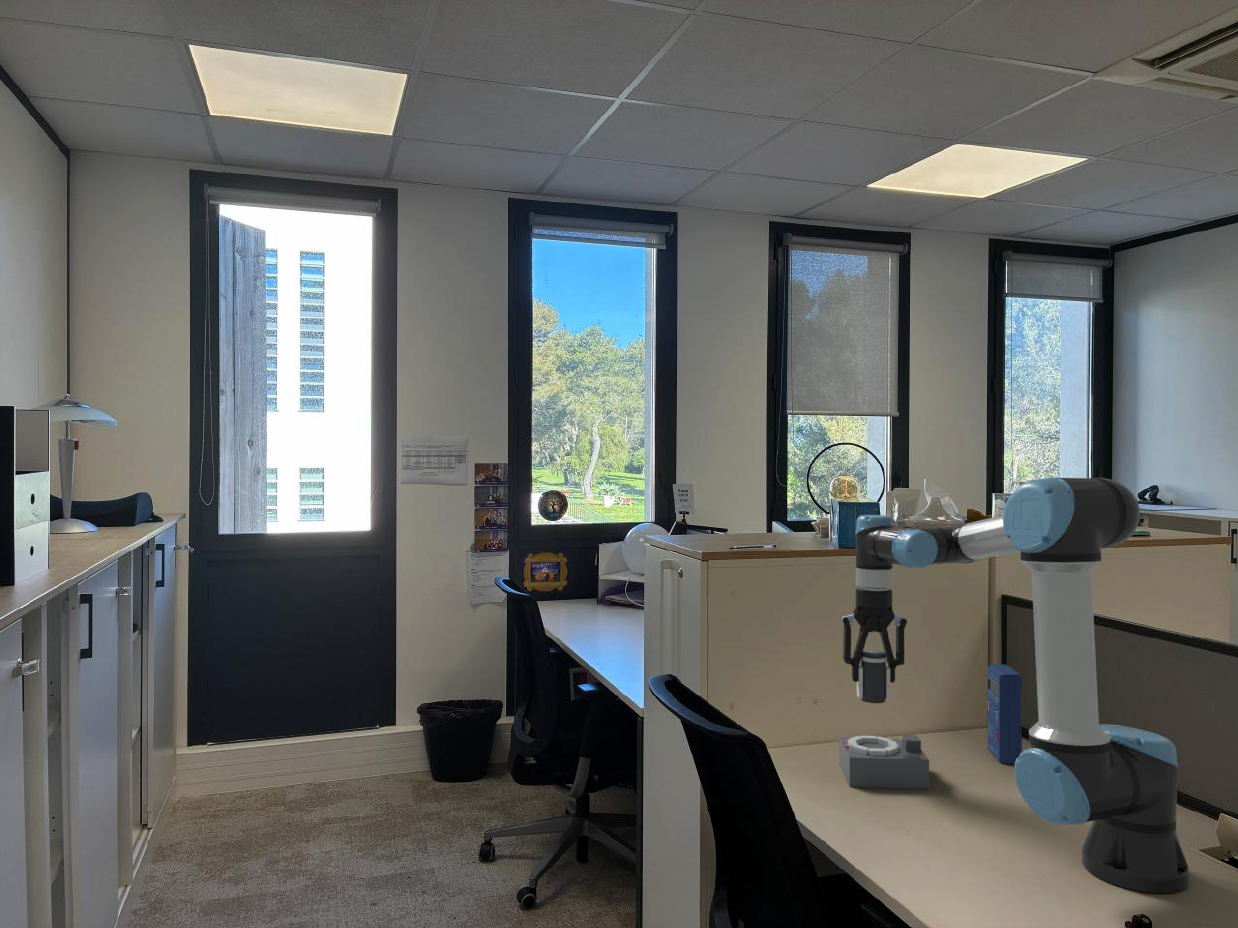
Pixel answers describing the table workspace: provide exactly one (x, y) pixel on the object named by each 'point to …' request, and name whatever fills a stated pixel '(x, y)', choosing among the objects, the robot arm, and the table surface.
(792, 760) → the table surface
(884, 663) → the lens
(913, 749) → the camera body
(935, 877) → the table surface
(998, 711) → the electronic device
